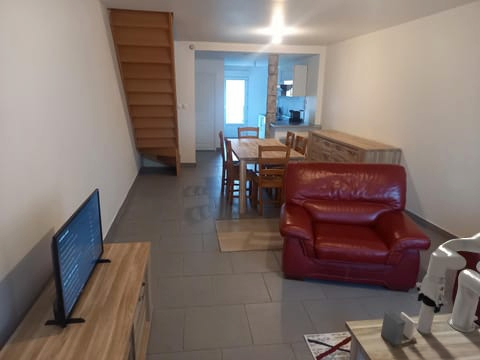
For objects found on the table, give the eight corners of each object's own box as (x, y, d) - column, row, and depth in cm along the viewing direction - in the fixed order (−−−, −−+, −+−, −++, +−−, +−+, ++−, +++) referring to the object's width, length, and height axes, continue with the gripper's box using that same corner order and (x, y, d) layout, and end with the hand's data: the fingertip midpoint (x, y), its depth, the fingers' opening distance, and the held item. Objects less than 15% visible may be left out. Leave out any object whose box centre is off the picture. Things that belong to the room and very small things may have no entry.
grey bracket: (401, 329, 179) (406, 306, 175) (416, 341, 171) (421, 317, 167) (380, 335, 174) (384, 312, 170) (394, 348, 166) (398, 323, 162)
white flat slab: (399, 328, 178) (402, 312, 175) (413, 340, 170) (417, 323, 167) (397, 329, 177) (400, 312, 174) (411, 341, 169) (415, 324, 166)
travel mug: (432, 336, 175) (440, 302, 170) (418, 333, 176) (425, 300, 171) (428, 327, 181) (435, 294, 175) (415, 325, 182) (421, 292, 177)
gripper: (456, 285, 163) (448, 315, 168) (426, 266, 179) (419, 295, 184) (445, 287, 161) (437, 318, 165) (415, 268, 176) (408, 297, 181)
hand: (428, 306), depth 174 cm, fingers open, 9 cm apart
